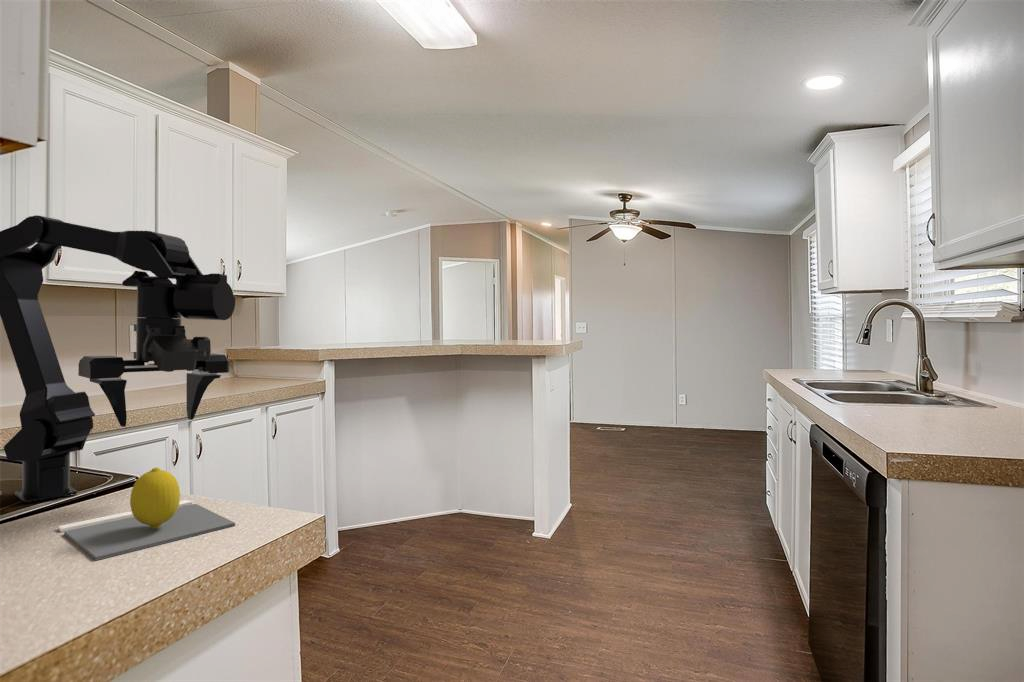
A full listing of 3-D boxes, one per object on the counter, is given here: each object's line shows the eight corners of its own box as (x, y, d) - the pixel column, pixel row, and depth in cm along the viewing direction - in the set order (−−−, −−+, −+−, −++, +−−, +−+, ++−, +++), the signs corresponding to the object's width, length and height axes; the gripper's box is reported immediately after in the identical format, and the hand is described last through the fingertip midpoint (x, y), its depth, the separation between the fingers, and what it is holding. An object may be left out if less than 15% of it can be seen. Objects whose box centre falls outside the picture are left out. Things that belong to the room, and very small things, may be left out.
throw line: (57, 529, 77) (57, 526, 77) (187, 502, 89) (187, 499, 89) (61, 531, 76) (61, 528, 76) (192, 504, 89) (192, 501, 89)
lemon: (157, 538, 74) (157, 474, 74) (119, 533, 75) (119, 471, 75) (189, 523, 79) (190, 464, 79) (153, 519, 80) (154, 461, 80)
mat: (64, 534, 75) (64, 531, 75) (195, 506, 88) (195, 503, 88) (96, 560, 68) (96, 557, 68) (235, 525, 80) (235, 522, 80)
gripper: (105, 317, 76) (103, 439, 76) (247, 320, 90) (245, 422, 91) (77, 316, 83) (76, 427, 83) (213, 319, 97) (212, 414, 98)
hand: (158, 422), depth 89 cm, fingers open, 9 cm apart
